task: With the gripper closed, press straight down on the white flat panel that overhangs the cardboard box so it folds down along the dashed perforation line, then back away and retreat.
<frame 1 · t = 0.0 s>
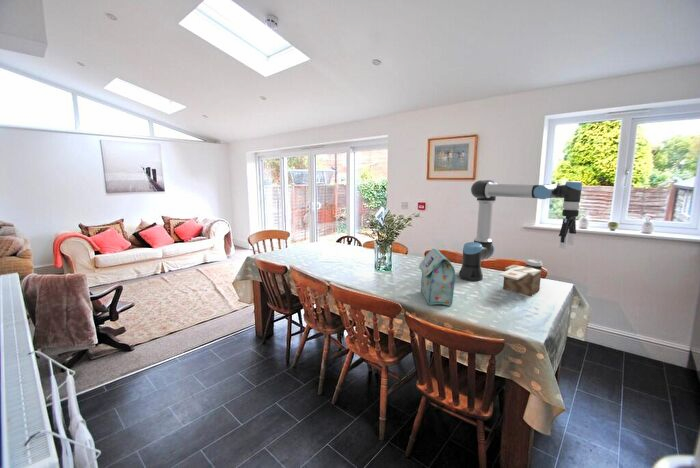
hand: (566, 246, 181), 28 cm above the table, fingers open, 13 cm apart
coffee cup: (531, 284, 202), on the table
lunch bag: (435, 298, 179), on the table
white flat panel: (513, 274, 180), point 13 cm above the table, hinge at 0.0°
cardboard box: (520, 289, 191), on the table
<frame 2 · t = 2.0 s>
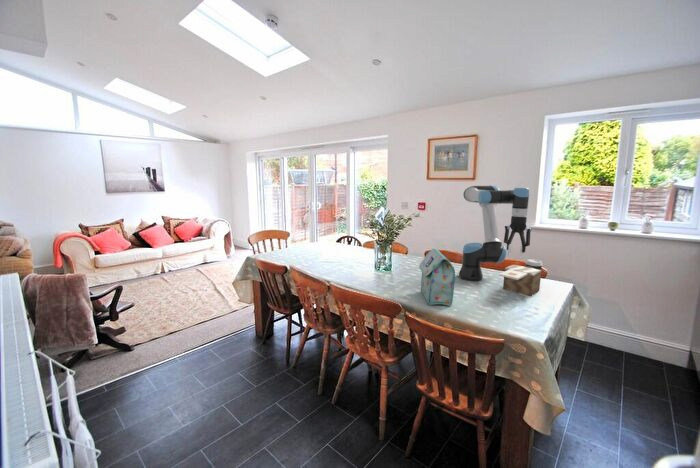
hand: (515, 256, 179), 23 cm above the table, fingers open, 6 cm apart
nothing on the table moved.
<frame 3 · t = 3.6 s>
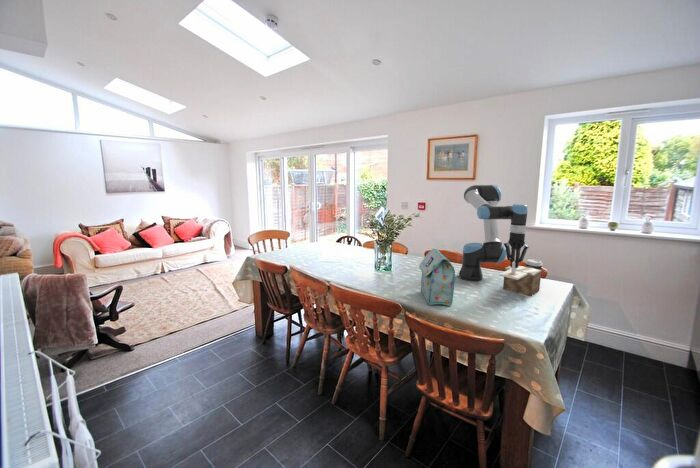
hand: (513, 273, 180), 13 cm above the table, fingers closed
white flat panel: (513, 274, 180), point 13 cm above the table, hinge at 0.0°, touching gripper
everything else where it was.
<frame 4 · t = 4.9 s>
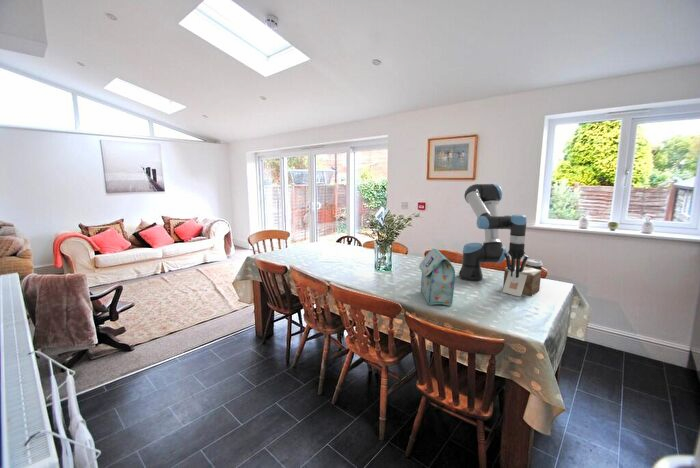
hand: (514, 282, 182), 7 cm above the table, fingers closed
white flat panel: (514, 283, 184), point 6 cm above the table, hinge at 61.7°, touching gripper
everything else where it was.
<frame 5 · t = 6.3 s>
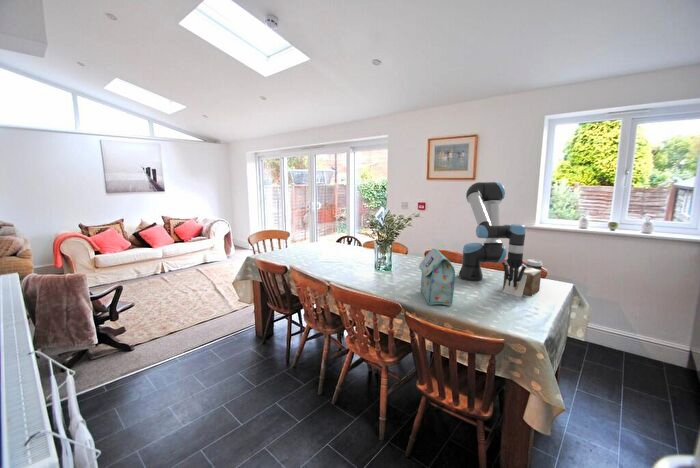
hand: (511, 291, 182), 2 cm above the table, fingers closed
white flat panel: (515, 284, 184), point 6 cm above the table, hinge at 68.0°, touching gripper
everything else where it was.
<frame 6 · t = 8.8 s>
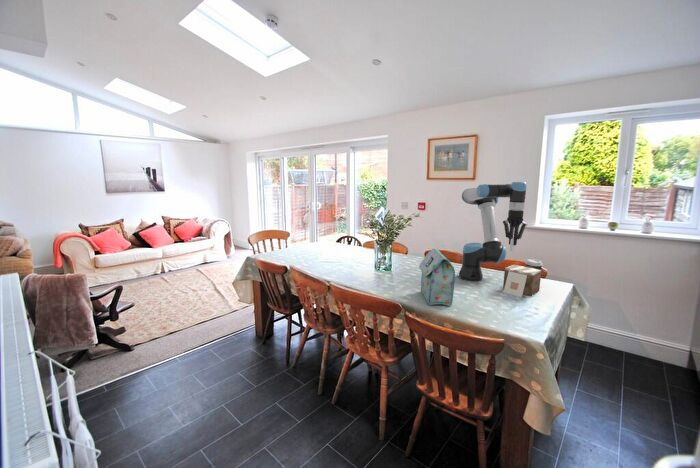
hand: (511, 250, 183), 25 cm above the table, fingers closed
white flat panel: (515, 284, 184), point 6 cm above the table, hinge at 68.1°
everything else where it was.
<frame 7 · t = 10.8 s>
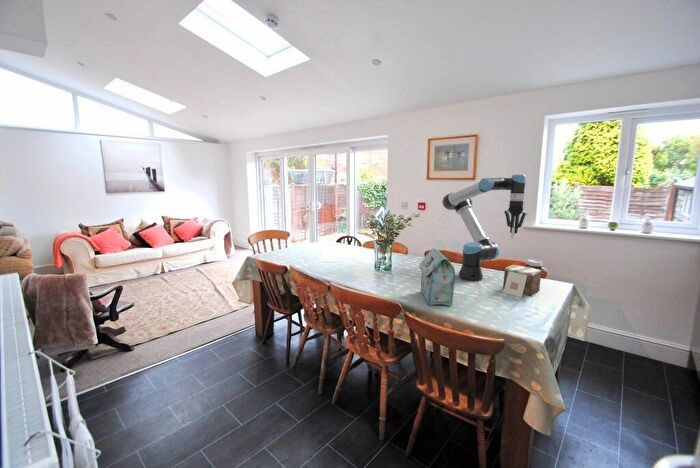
hand: (513, 238, 198), 29 cm above the table, fingers closed
nothing on the table moved.
at the end: white flat panel at +68° (first picture: +0°) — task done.
